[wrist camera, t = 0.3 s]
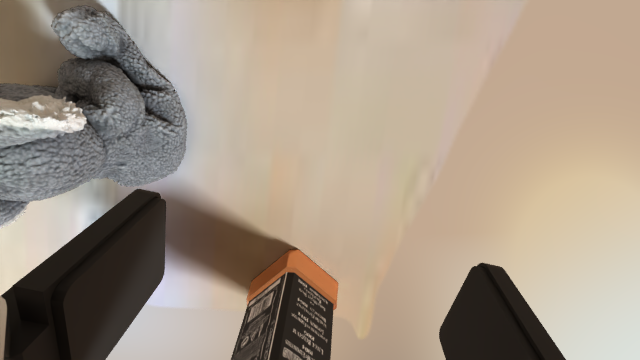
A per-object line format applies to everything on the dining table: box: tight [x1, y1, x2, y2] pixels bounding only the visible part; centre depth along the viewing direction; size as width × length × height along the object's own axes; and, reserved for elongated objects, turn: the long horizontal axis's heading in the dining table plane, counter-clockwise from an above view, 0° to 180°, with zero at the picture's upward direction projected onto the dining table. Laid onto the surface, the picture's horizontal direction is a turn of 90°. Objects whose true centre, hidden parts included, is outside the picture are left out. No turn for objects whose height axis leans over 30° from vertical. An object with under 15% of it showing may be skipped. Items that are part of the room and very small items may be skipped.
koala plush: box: [0, 5, 187, 228], centre depth 31 cm, size 17×18×20 cm
